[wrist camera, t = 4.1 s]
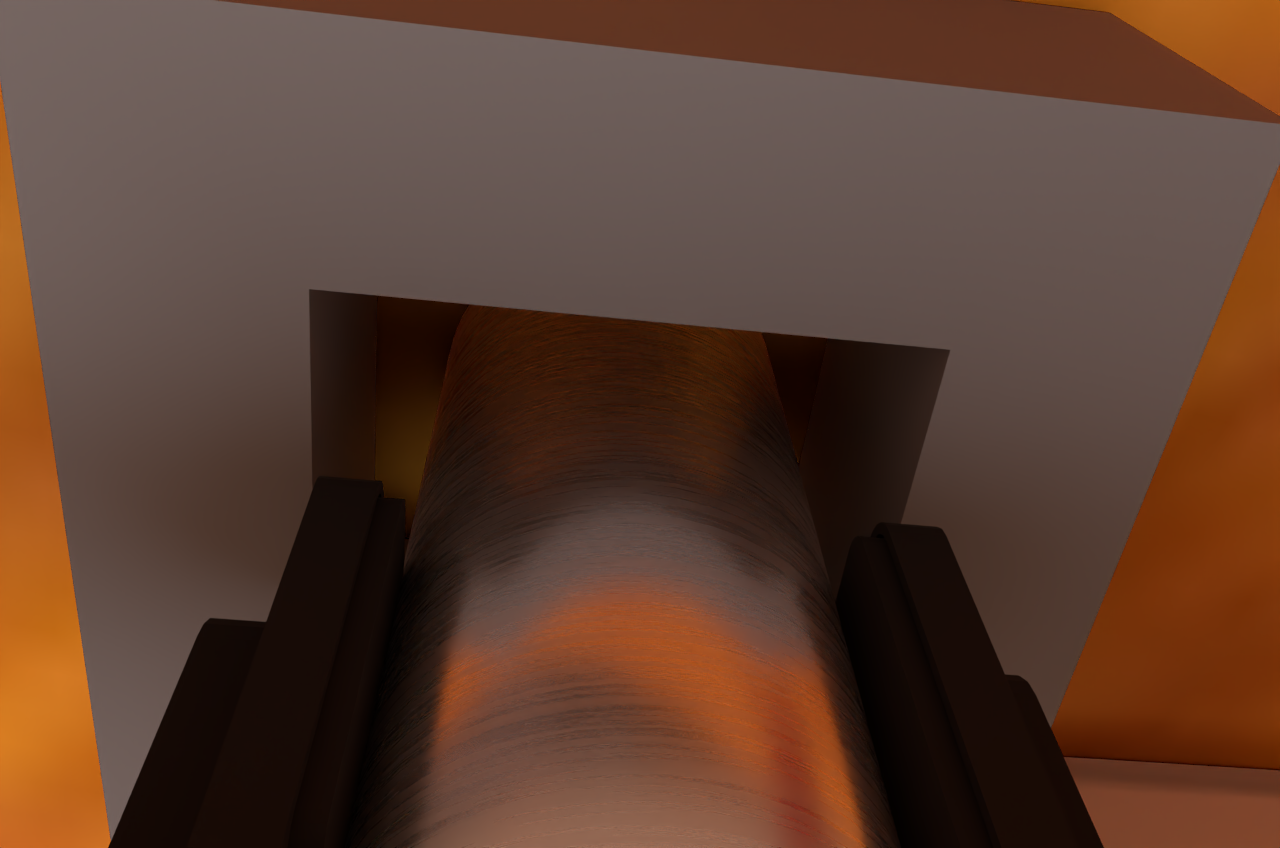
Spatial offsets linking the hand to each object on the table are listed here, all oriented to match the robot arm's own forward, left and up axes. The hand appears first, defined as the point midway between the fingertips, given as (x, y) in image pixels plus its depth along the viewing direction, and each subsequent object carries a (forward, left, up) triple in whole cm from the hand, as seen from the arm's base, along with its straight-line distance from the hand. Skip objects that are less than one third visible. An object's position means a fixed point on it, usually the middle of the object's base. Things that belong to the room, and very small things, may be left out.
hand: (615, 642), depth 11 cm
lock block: (0, 0, -5) cm, 5 cm away
